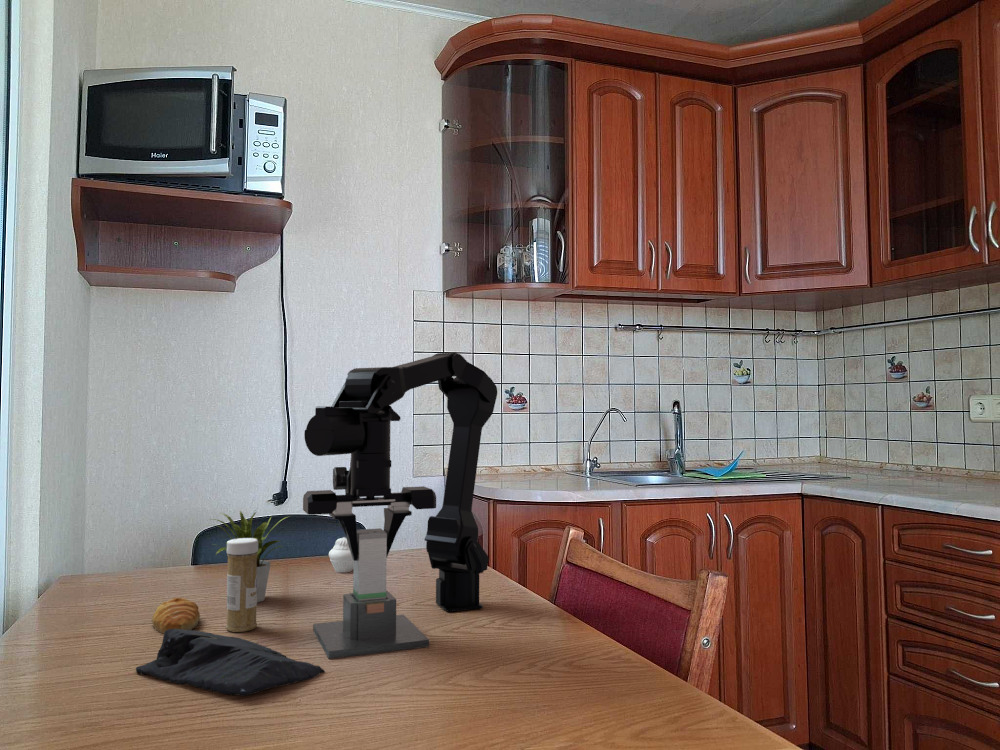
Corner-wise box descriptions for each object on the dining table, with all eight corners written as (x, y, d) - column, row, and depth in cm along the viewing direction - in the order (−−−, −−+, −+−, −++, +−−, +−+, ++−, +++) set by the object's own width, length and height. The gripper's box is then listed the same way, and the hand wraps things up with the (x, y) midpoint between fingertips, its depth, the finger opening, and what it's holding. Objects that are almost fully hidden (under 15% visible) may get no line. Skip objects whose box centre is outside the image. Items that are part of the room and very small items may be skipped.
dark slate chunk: (229, 715, 84) (230, 672, 85) (126, 674, 97) (127, 636, 98) (334, 676, 97) (335, 638, 97) (230, 644, 110) (231, 610, 110)
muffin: (355, 574, 153) (356, 539, 153) (325, 574, 153) (325, 539, 154) (361, 568, 159) (361, 534, 160) (332, 567, 159) (332, 534, 160)
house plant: (179, 605, 129) (181, 508, 130) (236, 587, 142) (237, 499, 142) (246, 614, 124) (248, 513, 124) (299, 594, 136) (300, 503, 137)
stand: (403, 620, 120) (403, 582, 120) (429, 646, 107) (429, 603, 107) (313, 630, 115) (313, 590, 115) (328, 659, 102) (329, 613, 102)
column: (379, 595, 114) (380, 528, 114) (386, 602, 110) (386, 532, 110) (353, 598, 112) (353, 530, 113) (358, 604, 109) (359, 534, 109)
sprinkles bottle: (260, 629, 115) (262, 540, 116) (229, 634, 112) (231, 543, 113) (252, 622, 119) (253, 536, 119) (222, 627, 116) (223, 538, 117)
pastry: (204, 633, 114) (204, 607, 114) (154, 640, 111) (155, 613, 111) (196, 618, 122) (196, 594, 122) (150, 624, 119) (150, 599, 119)
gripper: (416, 448, 123) (416, 545, 122) (298, 450, 116) (297, 553, 115) (437, 452, 113) (437, 558, 112) (309, 455, 106) (307, 568, 105)
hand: (369, 559), depth 111 cm, fingers closed on column, 4 cm apart
